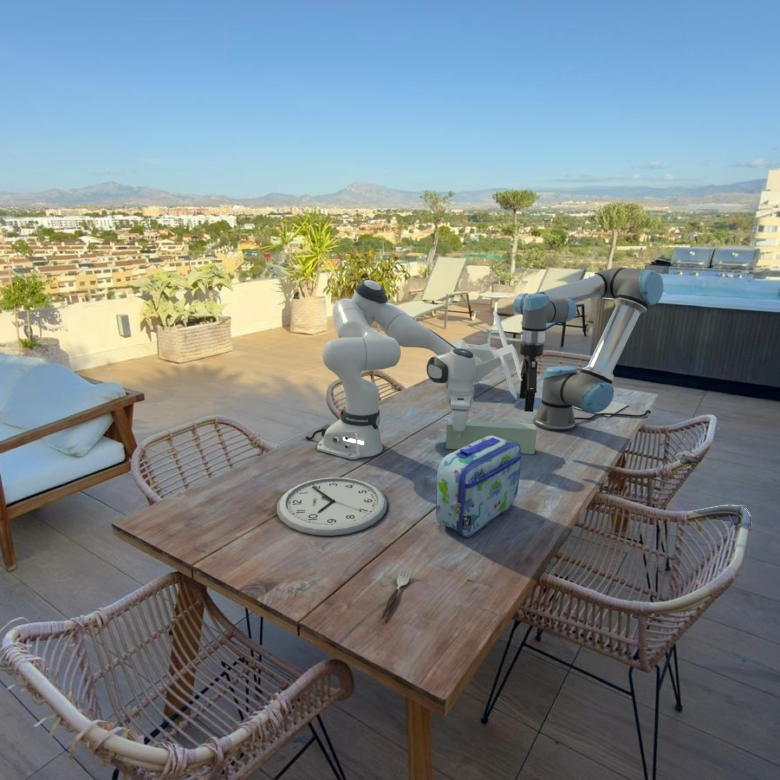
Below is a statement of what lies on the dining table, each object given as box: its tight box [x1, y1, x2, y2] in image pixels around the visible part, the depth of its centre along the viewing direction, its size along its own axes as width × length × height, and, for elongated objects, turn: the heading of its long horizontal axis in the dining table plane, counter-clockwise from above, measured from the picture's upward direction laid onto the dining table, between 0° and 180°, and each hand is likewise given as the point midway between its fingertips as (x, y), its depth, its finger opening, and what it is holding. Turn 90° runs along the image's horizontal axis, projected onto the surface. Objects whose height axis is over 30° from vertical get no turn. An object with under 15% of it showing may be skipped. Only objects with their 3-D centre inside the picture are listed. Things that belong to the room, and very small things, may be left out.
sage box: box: [445, 418, 538, 455], centre depth 180 cm, size 30×5×9 cm, turn 83°
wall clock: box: [276, 476, 388, 537], centre depth 142 cm, size 30×2×30 cm
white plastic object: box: [443, 310, 523, 400], centre depth 245 cm, size 37×45×31 cm
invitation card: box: [573, 400, 629, 418], centre depth 226 cm, size 21×1×15 cm
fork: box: [381, 564, 413, 619], centre depth 108 cm, size 3×16×2 cm, turn 160°
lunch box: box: [435, 436, 522, 538], centre depth 134 cm, size 26×11×21 cm, turn 134°
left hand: (457, 434), depth 181 cm, fingers closed on sage box, 5 cm apart
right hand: (525, 404), depth 175 cm, fingers open, 13 cm apart
